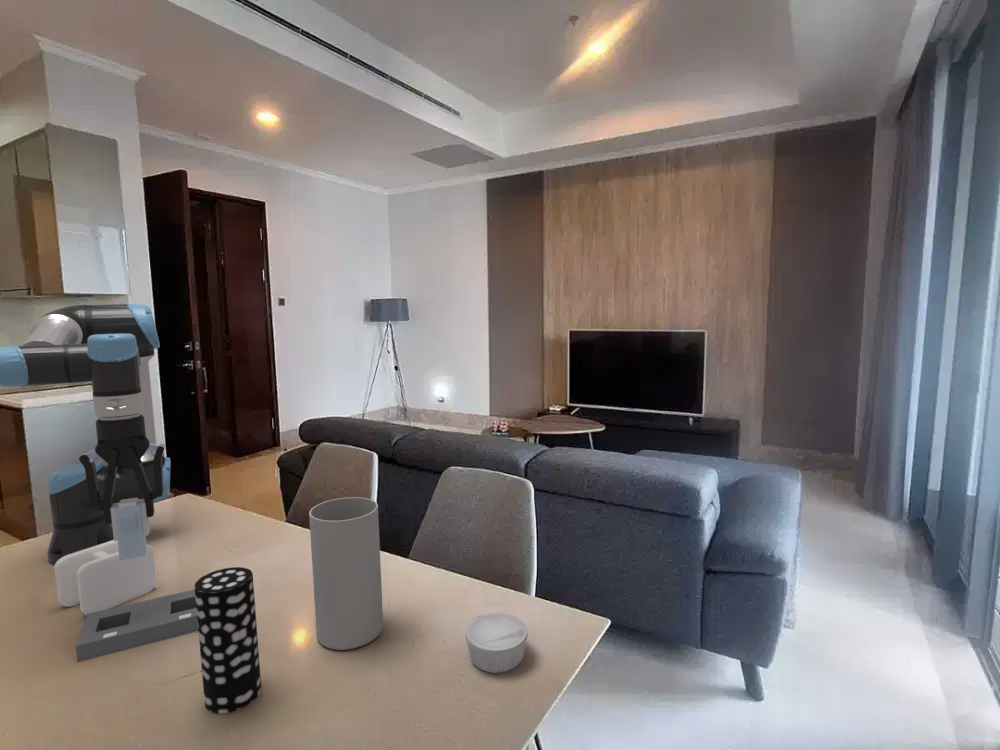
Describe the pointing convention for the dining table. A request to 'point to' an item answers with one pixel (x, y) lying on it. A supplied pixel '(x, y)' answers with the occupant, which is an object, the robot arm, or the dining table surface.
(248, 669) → the spotted tube
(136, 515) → the plug
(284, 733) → the dining table surface
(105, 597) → the cable organizer
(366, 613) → the cylinder vase
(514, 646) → the ramekin
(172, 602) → the socket panel
